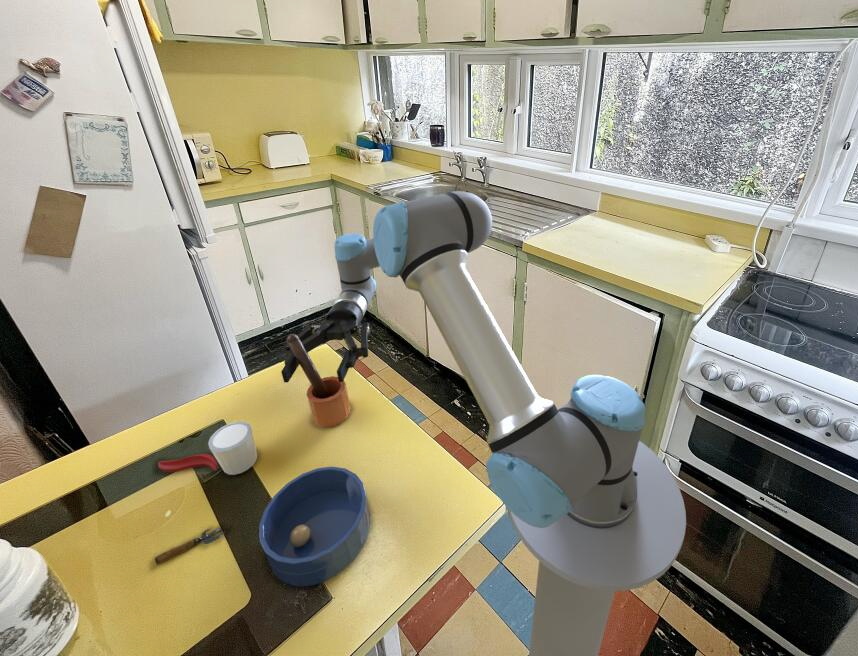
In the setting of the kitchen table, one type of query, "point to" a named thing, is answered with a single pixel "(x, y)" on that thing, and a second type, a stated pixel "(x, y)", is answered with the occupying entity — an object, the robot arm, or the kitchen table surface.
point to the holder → (329, 403)
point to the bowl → (316, 525)
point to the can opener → (189, 545)
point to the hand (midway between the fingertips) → (312, 376)
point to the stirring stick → (307, 366)
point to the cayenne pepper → (188, 463)
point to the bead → (300, 535)
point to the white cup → (234, 447)
